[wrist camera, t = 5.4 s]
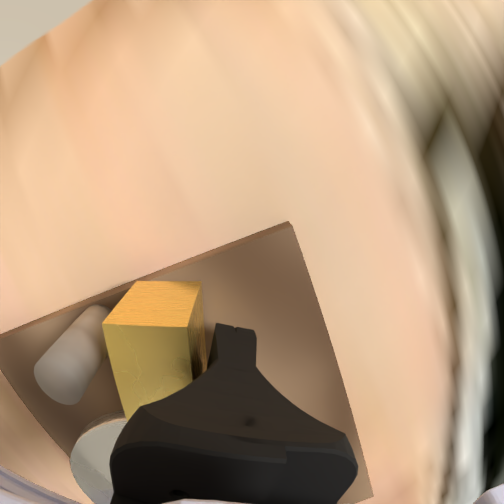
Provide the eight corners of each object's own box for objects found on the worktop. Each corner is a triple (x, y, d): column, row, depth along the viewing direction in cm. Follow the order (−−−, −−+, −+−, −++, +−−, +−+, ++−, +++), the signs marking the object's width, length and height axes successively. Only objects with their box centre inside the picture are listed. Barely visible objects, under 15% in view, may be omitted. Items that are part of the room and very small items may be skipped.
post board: (162, 526, 18) (155, 574, 13) (-5, 336, 13) (-58, 384, 8) (370, 486, 17) (389, 540, 12) (288, 221, 12) (320, 260, 7)
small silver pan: (298, 511, 16) (304, 554, 12) (119, 502, 15) (108, 542, 12) (336, 279, 11) (371, 325, 8) (34, 278, 11) (-18, 313, 8)
